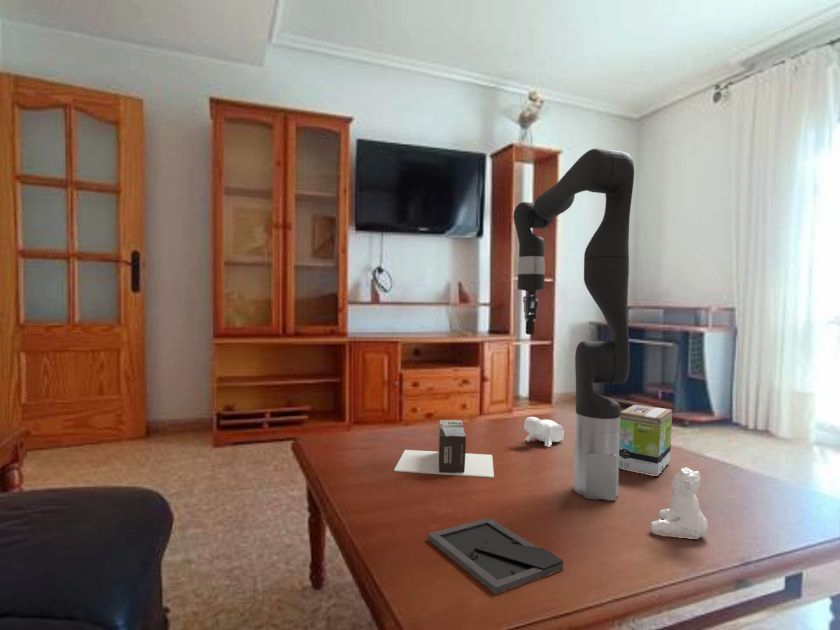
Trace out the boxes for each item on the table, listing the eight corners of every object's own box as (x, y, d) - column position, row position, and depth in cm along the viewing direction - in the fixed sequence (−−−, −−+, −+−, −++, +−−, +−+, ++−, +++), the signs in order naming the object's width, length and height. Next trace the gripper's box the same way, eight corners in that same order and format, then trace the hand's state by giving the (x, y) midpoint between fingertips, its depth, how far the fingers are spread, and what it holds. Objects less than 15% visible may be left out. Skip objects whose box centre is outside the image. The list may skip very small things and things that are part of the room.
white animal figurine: (539, 447, 149) (512, 437, 140) (546, 421, 151) (519, 409, 142) (564, 454, 143) (536, 443, 134) (570, 426, 145) (544, 414, 136)
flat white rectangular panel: (493, 477, 113) (493, 476, 113) (393, 471, 116) (393, 470, 116) (492, 456, 129) (492, 454, 129) (404, 450, 132) (404, 449, 132)
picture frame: (563, 573, 73) (488, 525, 89) (563, 560, 73) (489, 515, 88) (495, 598, 66) (427, 542, 82) (496, 584, 66) (428, 531, 82)
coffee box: (438, 419, 131) (439, 434, 114) (462, 420, 130) (466, 435, 114) (438, 453, 131) (438, 472, 114) (461, 453, 130) (465, 473, 114)
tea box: (659, 479, 114) (661, 417, 114) (616, 469, 121) (617, 411, 120) (671, 463, 126) (672, 408, 126) (630, 455, 133) (632, 402, 132)
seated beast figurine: (661, 516, 93) (662, 455, 93) (712, 530, 88) (714, 465, 87) (648, 534, 86) (650, 467, 85) (703, 550, 80) (705, 479, 80)
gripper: (547, 271, 128) (546, 335, 129) (541, 275, 142) (540, 333, 142) (519, 271, 129) (518, 335, 130) (516, 275, 142) (514, 332, 143)
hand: (529, 334), depth 136 cm, fingers closed
